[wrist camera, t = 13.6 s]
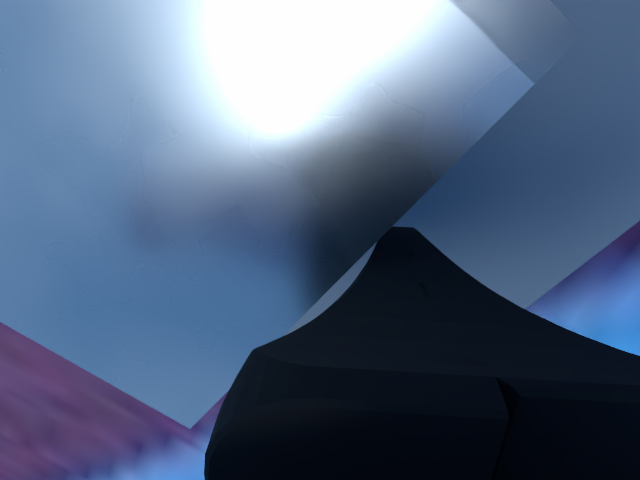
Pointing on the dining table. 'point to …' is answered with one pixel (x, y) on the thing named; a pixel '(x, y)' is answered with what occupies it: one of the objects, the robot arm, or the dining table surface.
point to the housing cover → (228, 163)
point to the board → (543, 169)
